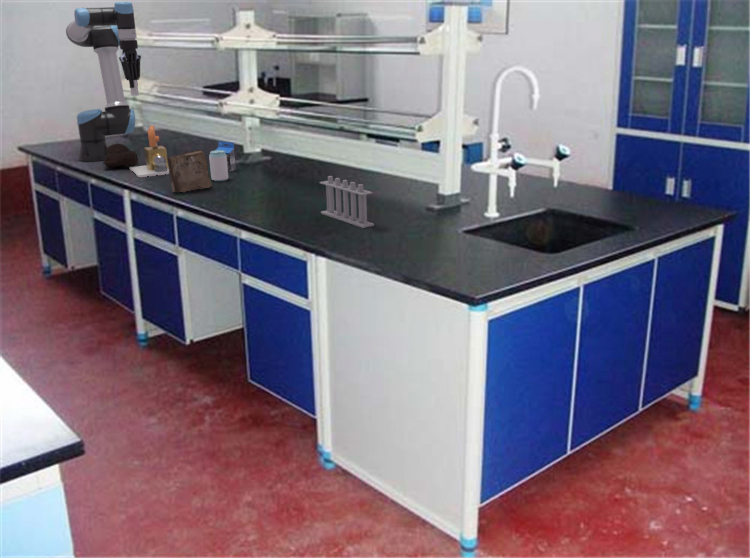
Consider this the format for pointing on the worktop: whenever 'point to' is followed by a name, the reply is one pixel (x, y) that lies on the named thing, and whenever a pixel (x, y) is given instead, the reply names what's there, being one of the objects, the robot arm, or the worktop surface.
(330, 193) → the test tube rack
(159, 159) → the valve
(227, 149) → the label tape cartridge
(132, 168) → the mount board
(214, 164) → the can
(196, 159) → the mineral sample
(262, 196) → the worktop surface
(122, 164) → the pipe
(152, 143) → the lever
